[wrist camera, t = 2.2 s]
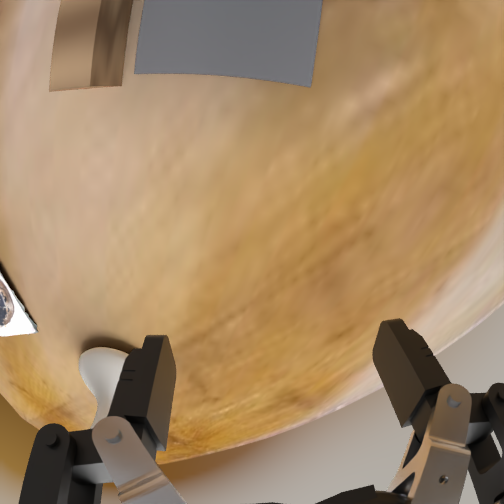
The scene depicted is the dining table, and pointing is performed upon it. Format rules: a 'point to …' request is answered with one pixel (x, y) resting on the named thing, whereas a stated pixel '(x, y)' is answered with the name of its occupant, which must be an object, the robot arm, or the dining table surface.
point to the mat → (230, 38)
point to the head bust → (13, 313)
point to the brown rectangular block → (89, 44)
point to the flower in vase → (101, 376)
